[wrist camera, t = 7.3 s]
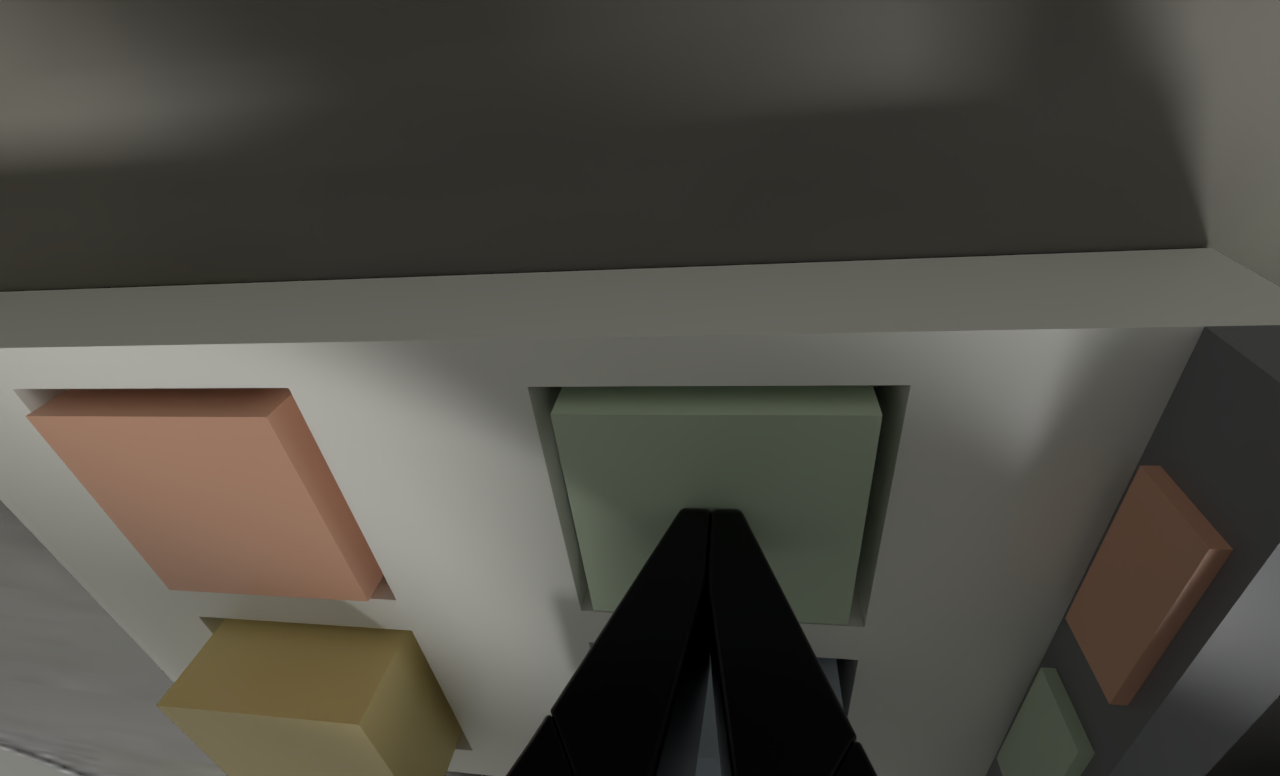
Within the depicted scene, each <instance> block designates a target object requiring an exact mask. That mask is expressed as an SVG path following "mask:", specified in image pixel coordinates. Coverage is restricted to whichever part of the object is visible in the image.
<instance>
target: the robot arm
mask: <svg viewBox="0 0 1280 776" xmlns="http://www.w3.org/2000/svg"><path fill="white" fill-rule="evenodd" d="M710 655H711V672H712V687H713V697H714V707H715V717H716V728H717V738H718V748H719V758H720V768H721V776H877V774H876V772H875V770H874V768H873V766H872V764H871V762H870V760H869V758H868V756H867V754H866V752H865V750H864V748H863V746H862V744H861V743H860V742H856V738H857V736H856V733H855V731H854V729H853V727H852V726H851V724H850V722H849V720H848V718H847V716H846V714H845V712H844V710H843V708H842V706H841V704H840V702H839V700H838V698H837V696H836V694H835V692H834V690H833V688H832V686H831V684H830V682H829V680H828V678H827V677H826V675H825V673H824V671H823V669H822V667H821V665H820V663H819V661H818V659H817V657H816V655H815V653H814V651H813V649H812V647H811V645H810V643H809V641H808V639H807V637H806V635H805V633H804V631H803V630H802V628H801V626H800V624H799V622H798V620H797V618H796V616H795V614H794V612H793V610H792V608H791V606H790V604H789V602H788V600H787V598H786V596H785V594H784V592H783V590H782V588H781V586H780V584H779V583H778V581H777V579H776V577H775V575H774V573H773V571H772V569H771V567H770V565H769V563H768V561H767V559H766V557H765V555H764V553H763V551H762V549H761V547H760V545H759V543H758V541H757V539H756V537H755V536H754V534H753V532H752V530H751V528H750V526H749V524H748V522H747V520H746V518H745V516H744V514H743V513H742V512H741V511H740V510H738V509H714V510H713V511H712V512H710V511H709V510H708V509H706V508H683V509H681V510H680V511H679V512H678V514H677V515H676V517H675V518H674V520H673V521H672V523H671V524H670V526H669V527H668V529H667V531H666V532H665V534H664V535H663V537H662V538H661V540H660V541H659V543H658V544H657V546H656V548H655V549H654V551H653V552H652V554H651V555H650V557H649V558H648V560H647V561H646V563H645V564H644V566H643V568H642V569H641V571H640V572H639V574H638V575H637V577H636V578H635V580H634V581H633V583H632V584H631V586H630V588H629V589H628V591H627V592H626V594H625V595H624V597H623V598H622V600H621V601H620V603H619V605H618V606H617V608H616V609H615V611H614V612H613V614H612V615H611V617H610V618H609V620H608V621H607V623H606V625H605V626H604V628H603V629H602V631H601V632H600V634H599V635H598V637H597V638H596V640H595V641H594V643H593V645H592V646H591V648H590V649H589V651H588V652H587V654H586V655H585V657H584V658H583V660H582V662H581V663H580V665H579V666H578V668H577V669H576V671H575V672H574V674H573V675H572V677H571V678H570V680H569V682H568V683H567V685H566V686H565V688H564V689H563V691H562V692H561V694H560V695H559V697H558V698H557V700H556V702H555V703H554V705H553V706H552V708H551V710H550V712H551V715H552V716H551V715H547V716H546V717H545V718H544V720H543V721H542V723H541V724H540V726H539V727H538V729H537V730H536V732H535V733H534V735H533V737H532V738H531V740H530V741H529V743H528V744H527V746H526V747H525V749H524V750H523V751H522V753H521V754H520V756H519V757H518V759H517V760H516V762H515V763H514V765H513V766H512V767H511V769H510V770H509V772H508V773H507V775H506V776H695V773H696V766H697V759H698V752H699V745H700V738H701V731H702V724H703V717H704V710H705V703H706V696H707V689H708V680H709V671H710Z"/></svg>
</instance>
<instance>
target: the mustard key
mask: <svg viewBox="0 0 1280 776" xmlns="http://www.w3.org/2000/svg"><path fill="white" fill-rule="evenodd" d="M156 706H157V707H158V708H159V709H160V710H161V711H162V712H163V713H164V714H165V715H166V716H167V717H168V718H169V719H170V720H171V721H172V722H174V723H175V724H176V725H177V726H178V727H179V728H180V729H181V730H182V731H183V732H184V733H185V734H186V735H187V736H188V737H189V738H190V739H191V740H192V741H193V742H194V743H195V744H196V745H197V746H198V747H199V748H200V749H201V750H202V751H203V752H204V753H205V754H206V755H207V756H208V757H209V758H210V759H211V760H212V761H213V762H214V763H215V764H216V765H217V766H218V767H219V768H221V769H222V770H223V771H224V772H225V773H226V774H227V775H228V776H446V773H447V770H448V767H449V765H450V762H451V759H452V756H453V753H454V751H455V748H456V745H457V742H458V740H459V737H460V734H461V731H462V728H461V726H460V724H459V722H458V720H457V718H456V716H455V714H454V713H453V711H452V709H451V707H450V705H449V703H448V701H447V699H446V697H445V695H444V693H443V691H442V689H441V687H440V685H439V683H438V681H437V679H436V677H435V675H434V673H433V671H432V669H431V667H430V665H429V663H428V661H427V659H426V657H425V655H424V653H423V652H422V650H421V648H420V646H419V644H418V642H417V640H416V638H415V636H414V634H413V632H412V631H411V630H396V629H381V628H366V627H350V626H335V625H320V624H305V623H290V622H275V621H259V620H244V619H229V618H225V620H224V621H223V622H222V623H221V625H220V626H219V627H218V628H217V630H216V631H215V632H214V633H213V635H212V636H211V637H210V638H209V640H208V641H207V642H206V644H205V645H204V646H203V647H202V649H201V650H200V651H199V652H198V654H197V655H196V656H195V657H194V659H193V660H192V661H191V662H190V664H189V665H188V666H187V667H186V669H185V670H184V671H183V673H182V674H181V675H180V676H179V678H178V679H177V680H176V681H175V683H174V684H173V685H172V686H171V688H170V689H169V690H168V691H167V693H166V694H165V695H164V696H163V698H162V699H161V700H160V701H159V703H158V704H157V705H156Z"/></svg>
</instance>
